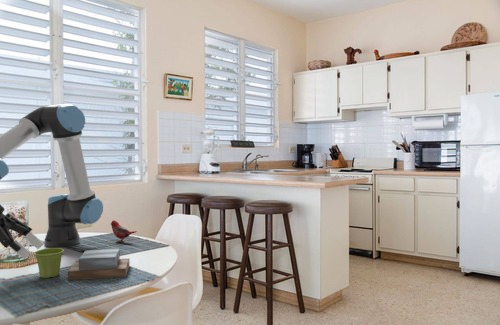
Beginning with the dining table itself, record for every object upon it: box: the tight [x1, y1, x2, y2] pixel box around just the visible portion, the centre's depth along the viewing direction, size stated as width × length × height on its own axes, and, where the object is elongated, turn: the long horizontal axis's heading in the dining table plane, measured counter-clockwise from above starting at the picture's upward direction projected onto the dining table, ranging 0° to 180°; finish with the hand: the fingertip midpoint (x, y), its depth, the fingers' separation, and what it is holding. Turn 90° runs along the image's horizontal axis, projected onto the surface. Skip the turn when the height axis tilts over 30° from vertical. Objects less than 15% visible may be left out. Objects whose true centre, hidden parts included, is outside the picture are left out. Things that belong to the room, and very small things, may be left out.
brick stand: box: [67, 248, 130, 281], centre depth 147 cm, size 13×19×7 cm
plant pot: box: [33, 247, 65, 279], centre depth 143 cm, size 9×9×9 cm
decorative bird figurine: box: [110, 220, 138, 243], centre depth 194 cm, size 3×18×10 cm, turn 59°
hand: (34, 251), depth 141 cm, fingers open, 13 cm apart
